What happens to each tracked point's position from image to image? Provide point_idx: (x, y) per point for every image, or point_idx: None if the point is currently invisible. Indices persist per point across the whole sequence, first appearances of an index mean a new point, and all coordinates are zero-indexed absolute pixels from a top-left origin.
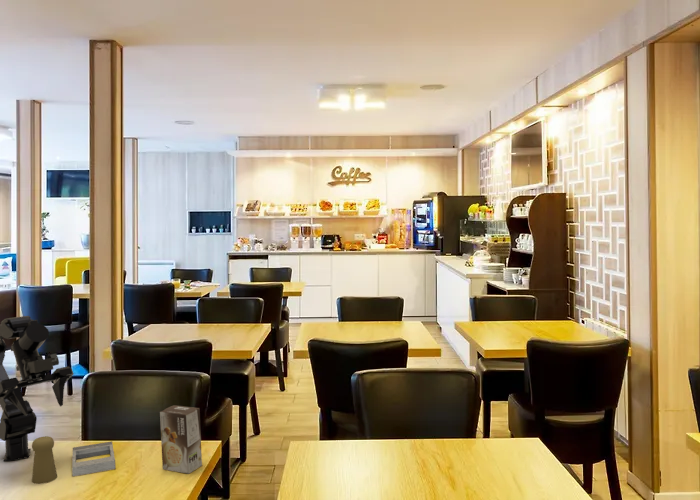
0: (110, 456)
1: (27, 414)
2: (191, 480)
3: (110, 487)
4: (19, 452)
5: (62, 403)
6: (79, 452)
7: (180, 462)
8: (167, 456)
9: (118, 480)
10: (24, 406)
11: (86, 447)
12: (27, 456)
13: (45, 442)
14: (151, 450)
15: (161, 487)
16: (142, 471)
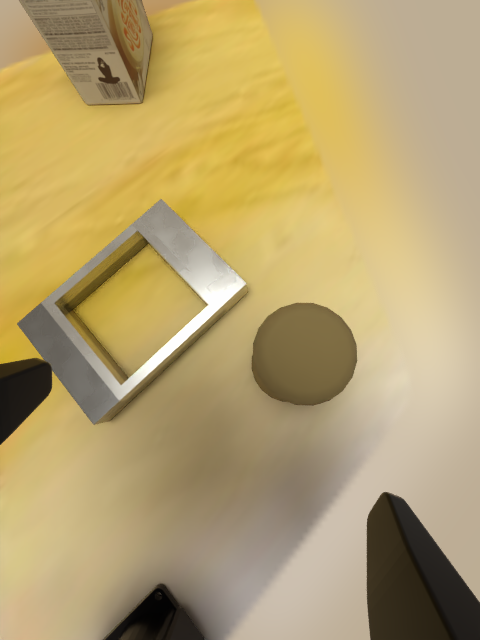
0: (96, 286)
1: (387, 495)
2: (182, 12)
3: (272, 146)
4: (179, 627)
5: (28, 362)
6: (117, 375)
7: (140, 23)
8: (129, 47)
9: (230, 157)
10: (454, 596)
11: (83, 372)
12: (163, 589)
13: (326, 310)
14: (29, 209)
15: (234, 45)
16: (165, 139)
